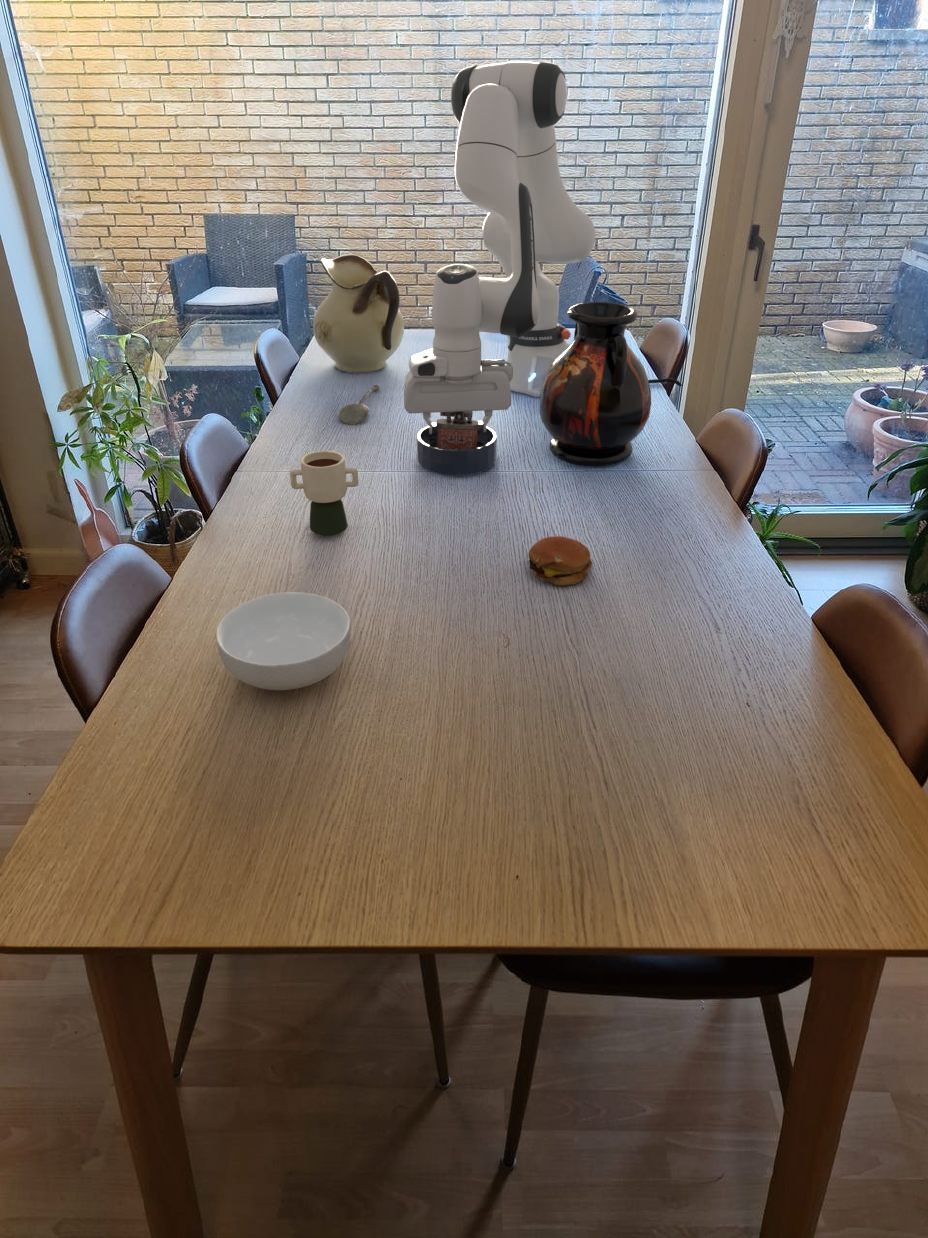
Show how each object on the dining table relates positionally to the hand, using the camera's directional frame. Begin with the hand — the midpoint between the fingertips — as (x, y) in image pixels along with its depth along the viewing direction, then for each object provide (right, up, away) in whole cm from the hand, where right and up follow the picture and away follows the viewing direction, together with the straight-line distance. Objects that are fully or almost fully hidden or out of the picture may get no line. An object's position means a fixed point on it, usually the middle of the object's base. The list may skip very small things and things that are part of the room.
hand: (457, 432), depth 170 cm
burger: (+16, -29, -32) cm, 46 cm away
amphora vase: (+26, -3, +7) cm, 28 cm away
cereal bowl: (-22, -43, -54) cm, 72 cm away
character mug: (-21, -21, -21) cm, 37 cm away
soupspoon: (-21, +12, +29) cm, 38 cm away
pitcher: (-24, +28, +54) cm, 66 cm away
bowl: (0, -5, +3) cm, 6 cm away
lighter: (0, -5, +3) cm, 6 cm away
